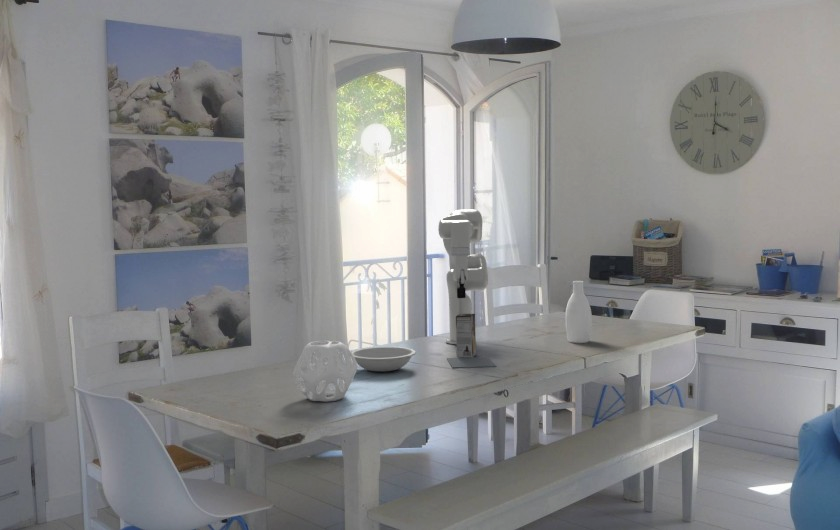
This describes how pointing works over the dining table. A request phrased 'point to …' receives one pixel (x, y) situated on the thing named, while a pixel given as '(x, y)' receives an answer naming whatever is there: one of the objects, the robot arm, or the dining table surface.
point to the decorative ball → (325, 370)
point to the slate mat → (471, 362)
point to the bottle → (578, 315)
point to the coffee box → (465, 335)
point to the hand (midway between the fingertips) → (461, 297)
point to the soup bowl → (383, 358)
